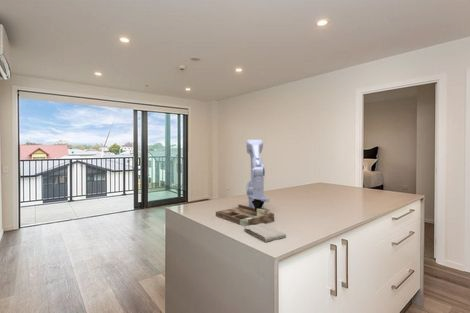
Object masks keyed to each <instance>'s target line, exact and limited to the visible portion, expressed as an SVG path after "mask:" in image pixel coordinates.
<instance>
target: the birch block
mask: <svg viewBox="0 0 470 313" xmlns="http://www.w3.org/2000/svg"><path fill="white" fill-rule="evenodd" d="M270 213H271V209H270V208H266V207H264V208H258V209H257V217H260V216H264V215H268V214H270Z"/></svg>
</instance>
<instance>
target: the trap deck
mask: <svg viewBox="0 0 470 313" xmlns="http://www.w3.org/2000/svg"><path fill="white" fill-rule="evenodd" d="M237 206H238V207H232V208H228V209H223V210H218V211H215V217H218V218H220V219H223V220H226V221H228V222H230V223H231V222H232V223H234V224H237V225H240V226H243V227H245V226H249V225H257V224H261V223H264V224H266V225H267V224H269V223H272V222H275V213H274V212H270V214H268V215H264V216H260V217H257V214H256V211H255V208H251V207H249V206H246V205H242V204H238V205H237Z"/></svg>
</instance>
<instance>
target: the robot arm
mask: <svg viewBox="0 0 470 313" xmlns="http://www.w3.org/2000/svg"><path fill="white" fill-rule="evenodd" d="M245 143H246V146H245V147H246V153H247V154H249V156H250V180H249V181H248V182H246V188H245V189H246V196H247V199H248V207H251V208H255V211H256V214H257V209H258V208H265V203H266V204H267V203H270V198H269V197H265V194H264V192H265V191H264V186H265V185H264V184H265V182H264V180H265V175H266V169H265V166H264V163H263V158H262V157H261V156H260V154H261V153H262V151H263V149H264V148H263V147H264V141H263V139H248V138H247V139H246V142H245Z"/></svg>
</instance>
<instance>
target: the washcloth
mask: <svg viewBox="0 0 470 313" xmlns="http://www.w3.org/2000/svg"><path fill="white" fill-rule="evenodd" d="M243 231H244V232H246V233H247V234H248V235H250V236H252V237H254V238H255V239H257V240H259V241H262V242H263V243H264V242H265V243H267V242H272V241H276V240H281V239H285V238H286V237H287V234H286V233H285V232H283V231H281V230H279V229H278V228H275V227H273V226H271V225H268V224H267V223H266V224H264V223H261V224H257V225H249V226H244V228H243Z"/></svg>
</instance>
